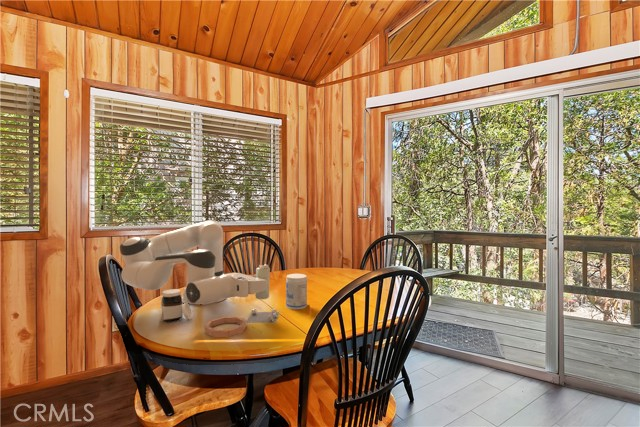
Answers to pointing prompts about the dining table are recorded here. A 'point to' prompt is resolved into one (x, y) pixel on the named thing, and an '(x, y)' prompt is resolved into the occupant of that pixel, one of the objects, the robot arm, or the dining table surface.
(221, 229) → the robot arm
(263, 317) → the parts board
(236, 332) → the bowl
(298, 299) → the supplement tub
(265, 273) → the pebble cup
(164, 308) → the spread jar
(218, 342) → the dining table surface
